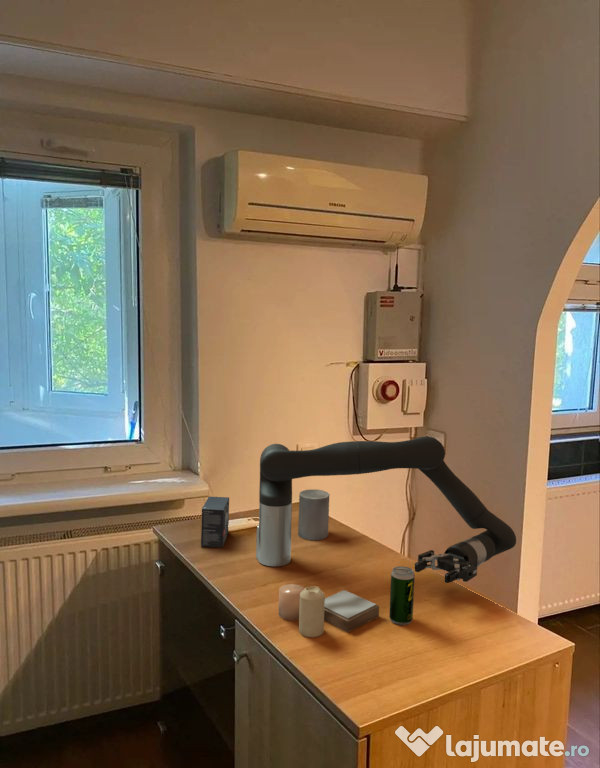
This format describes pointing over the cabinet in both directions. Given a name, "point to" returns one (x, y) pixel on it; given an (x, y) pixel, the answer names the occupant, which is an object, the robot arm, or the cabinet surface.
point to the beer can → (401, 595)
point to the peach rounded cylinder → (289, 601)
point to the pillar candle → (313, 514)
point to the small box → (215, 522)
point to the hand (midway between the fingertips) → (430, 573)
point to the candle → (311, 612)
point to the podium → (349, 610)
